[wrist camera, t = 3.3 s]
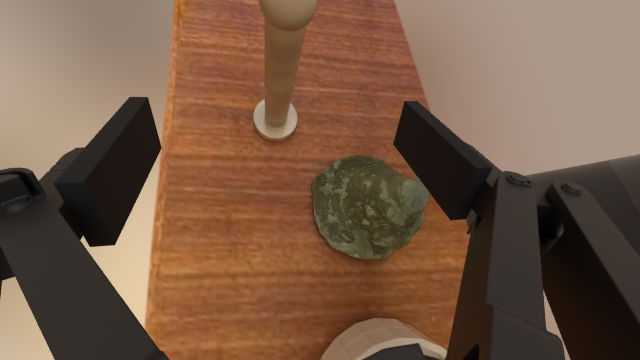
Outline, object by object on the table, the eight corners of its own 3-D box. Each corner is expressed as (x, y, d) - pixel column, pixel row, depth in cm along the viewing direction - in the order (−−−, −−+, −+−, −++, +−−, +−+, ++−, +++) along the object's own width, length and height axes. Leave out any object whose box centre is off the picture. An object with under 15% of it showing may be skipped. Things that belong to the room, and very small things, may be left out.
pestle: (303, 130, 31) (358, 1, 13) (266, 148, 30) (269, 36, 12) (283, 94, 31) (310, -83, 13) (246, 111, 30) (218, -55, 12)
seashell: (295, 176, 28) (394, 147, 23) (330, 159, 34) (414, 133, 29) (330, 271, 29) (431, 266, 24) (358, 238, 35) (443, 228, 30)
